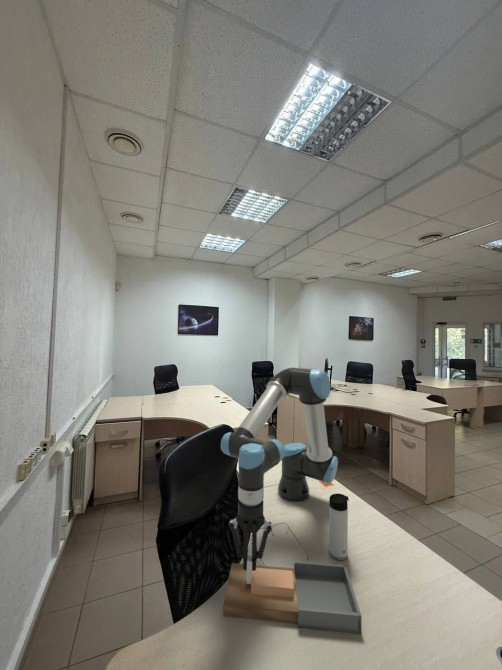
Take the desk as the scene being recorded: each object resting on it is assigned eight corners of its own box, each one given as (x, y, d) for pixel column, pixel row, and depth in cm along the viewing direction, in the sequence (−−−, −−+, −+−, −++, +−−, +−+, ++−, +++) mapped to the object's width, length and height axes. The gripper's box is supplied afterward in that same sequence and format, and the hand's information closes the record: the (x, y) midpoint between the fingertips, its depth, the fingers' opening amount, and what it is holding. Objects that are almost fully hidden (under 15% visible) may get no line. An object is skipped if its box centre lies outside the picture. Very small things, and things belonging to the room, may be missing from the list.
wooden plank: (231, 572, 89) (231, 563, 89) (294, 577, 87) (294, 568, 87) (223, 615, 75) (223, 604, 75) (298, 623, 73) (298, 611, 73)
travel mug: (349, 562, 93) (350, 502, 93) (329, 559, 94) (329, 500, 95) (347, 548, 99) (347, 492, 100) (328, 545, 101) (328, 490, 101)
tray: (294, 575, 88) (294, 560, 88) (345, 579, 86) (345, 565, 86) (298, 627, 72) (298, 609, 72) (361, 633, 70) (361, 616, 71)
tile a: (252, 575, 84) (252, 567, 84) (272, 577, 83) (272, 569, 83) (251, 593, 78) (251, 584, 78) (272, 595, 77) (272, 586, 77)
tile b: (272, 577, 83) (272, 569, 83) (292, 579, 83) (292, 570, 83) (272, 595, 77) (272, 586, 78) (293, 597, 77) (293, 588, 77)
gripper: (226, 505, 78) (225, 589, 78) (272, 508, 77) (271, 593, 77) (231, 490, 86) (230, 567, 85) (272, 493, 85) (271, 571, 84)
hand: (249, 579), depth 81 cm, fingers closed
